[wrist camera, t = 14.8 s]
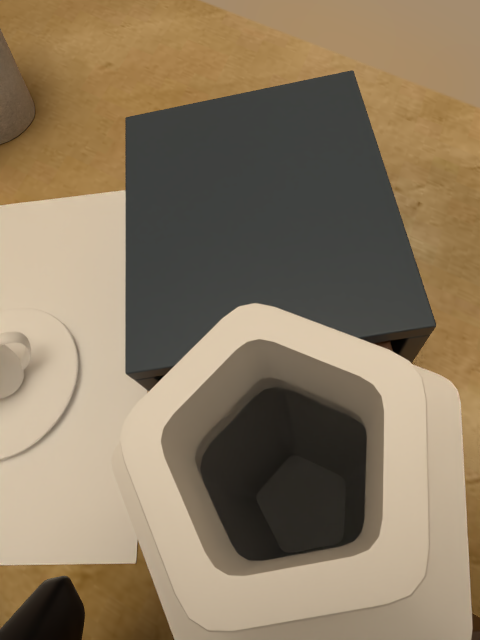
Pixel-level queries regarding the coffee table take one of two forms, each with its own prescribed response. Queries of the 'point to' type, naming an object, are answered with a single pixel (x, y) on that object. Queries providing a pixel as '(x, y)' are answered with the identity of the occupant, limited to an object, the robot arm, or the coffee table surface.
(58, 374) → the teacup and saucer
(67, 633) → the robot arm
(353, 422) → the white pentagonal vase
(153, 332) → the cabinet
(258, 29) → the coffee table surface
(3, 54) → the house plant
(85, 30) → the coffee table surface
